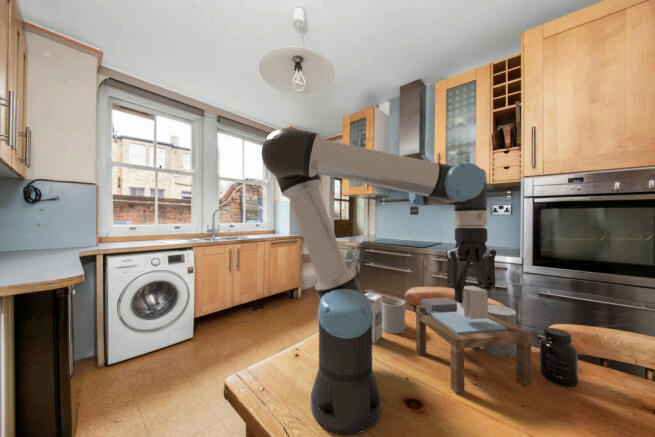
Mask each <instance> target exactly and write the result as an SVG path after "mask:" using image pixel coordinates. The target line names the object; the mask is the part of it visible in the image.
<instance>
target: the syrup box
mask: <svg viewBox="0 0 655 437" xmlns="http://www.w3.org/2000/svg"><path fill="white" fill-rule="evenodd" d="M364 295H366V296H367V297H368V298H369V300H370V302H371V305H372V311H373V321H372V344H377V342H378V341H379V340H380V339H381V338H382V336H383V334H382V332H383V330H382V299H383V296H382V295H380V294H377V293H373V292H372V293H371V292H367V293H364Z"/></svg>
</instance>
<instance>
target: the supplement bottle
mask: <svg viewBox="0 0 655 437" xmlns="http://www.w3.org/2000/svg"><path fill="white" fill-rule="evenodd" d="M572 343H573V340H572V334H571V333H570V332H568V331H566V330H563V329H560V328H555V327H546V328H545V329H544V337H542V338H541V339H540V340H539V358H540V359H539V361H540V364H539V366H540V374H541V375H542V377H543V378H545V380H548V382H550V383H552V384H554V385H557V386H560V387H564V388H571V389H572V388H576V387H578V384H579V369H578V368H579V367H578V364H579V362H578V359H579V358H578V350H577V348H576V347H575V346H574V345H573V344H572Z"/></svg>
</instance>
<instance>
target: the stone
mask: <svg viewBox="0 0 655 437" xmlns="http://www.w3.org/2000/svg"><path fill="white" fill-rule="evenodd" d="M464 291H466V294H467V316H465V317H467V318H469V319H482V318H488V304H489V303H488V301H489V295H488V296H487V291H486V290H483V289H480V287H479V286H475V285H464Z"/></svg>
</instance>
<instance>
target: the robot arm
mask: <svg viewBox="0 0 655 437" xmlns="http://www.w3.org/2000/svg"><path fill="white" fill-rule="evenodd" d="M261 158H262V162H263V164H264V166H265V167H266V169H267V170H268V172H269V173H271V174H272V175H273V176H275V178H276V181H277V184H278V186H279V190H280V192H281V195H282V196H283V197H285V198H287V199H289V201H290V203H291V206H292V210H293V212H294V216H295V218H296V222H297V224H298V228H299V230H300V232H301V236H302V238H303V240H304V243H305V245H306V246H305V247H306V249H307V252H308V255H309V258H310V261H311V263H312V266H313V268H314V272H315V275H316V278H317V282H316V284H315V292H316V293H317V297H318V299H319V303H318V304H319V305H318V308H317V317H318V369H317V372H316V376H315V379H314V382H313V385H312V389H311V393H310V394H311V395H310V409H311V413H312V415H313V417H314V419H315V420H316V421H317V423H318V424H319V425H321V426H322V425H323V426H325V427H326V428H328V429H330V430H332V431H331V432H333V431H335V432H334V433H336V432H337V433H336V434H340V433H341V434H340V435H356V434H355V433H357V434H360V433H359V432H361V431H364V430H366V429H368V428H370V427H371V426H372V427H373V426H375V424H377V422H378V420H380V419H379V418H380V416H381V412H382V410H381V409H382V406H381V405H382V401H381V393H380V390H379V388H378V384H377V381H376V377H375V374H374V372H373V343H372V321H373V311H372V305H371V302H370V300H369V298H368V297H367V296H366V295H365V293H363V291H362V290H361V287H360V285H359V282H358V279H357V277H356V274H355V272H354V271H351V270H349V269H348V268H347V265H346V262H345V259H344V256H343V253H342V251H341V248H340V245H339V243H338V239H337V237H336V234H335V232H334V229H333V225H332V223H331V221H330V218H329V215H328V211H327V209H326V206H325V204H324V201H323V197H322V194H321V193H320V190H319V189H320V186H321V183H322V179H321V177H320V175H323V176H327V177H331V178H332V177H333V178H336V179H342V180H346V181H351V182H355V183H361V184H366V185H371V186H375V187H381V188H385V189H388V190H389V189H391V190H395V191H400V192H404V193H408V199H409V202H410V204H412V205H413V206H420V207H421V206H422V207H424V206H426V207H428V206H454V208H453V209H454V226H455V228H454V240H455V242H456V243H455V246H454V248H453V249H451V250H448V249H447V250H445V256H446V259H447V261H446V262H447V263H446V264H447V268H446V270H447V271H446V272H447V274H446V275H447V276H446V279H447V282H446V284H447V287H449V288H451V289H453V290H454V300H455V301H456V302H457V313H459V314H461V315H462V316H467V294H466V291H464V286H466V285H465V284H466V280H467V275H468V271H469V268H470V266H471V265H472V266H473V269H474V274H475V278H476V281H477V282H476V283H477V285H478V286H477V287H478V288H480V289H483V290H486V291H487V296H488V297H489V291H491V290H493V289H492V287H493V288H495V287H496V266H495V263H496V262H495V259H496V255H497V250H496V249H490V248H488V247H487V245H486V243H487V242H488V229H487V228H486V226H488V208H487V207H488V198H487V197H488V178H487V172H486V170H484V169H483V168H480V166H478V165H477V164H474V163H471V162H462V163H457V164H453V165H450V164H445V163H441V162H440V163H439V162H433V161H430V160H425V159H419V158H415V157H409V156H405V155H401V154H394V153H390V152H386V151H380V150H376V149H371V148H365V147H360V146H356V145H352V144H348V143H347V144H346V143H341V142H337V141H332V140H327V139H324V138H323V137H322V135H321V133H317V132H312V131H307V130H303V129H298V128H291V127H288V128H285V127H284V128H280V129H277V130H273V131H272V132H271V133H269V135H267V136H266V138H265V140H264V142H263V143H262V147H261ZM323 426H322V427H323ZM325 427H324V428H325ZM372 427H371V428H372ZM326 428H325V429H326ZM371 428H370V429H371ZM328 429H327V430H328ZM330 430H329V431H330ZM368 430H369V429H368ZM366 431H367V430H366ZM364 432H365V431H364ZM361 433H362V432H361Z"/></svg>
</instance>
